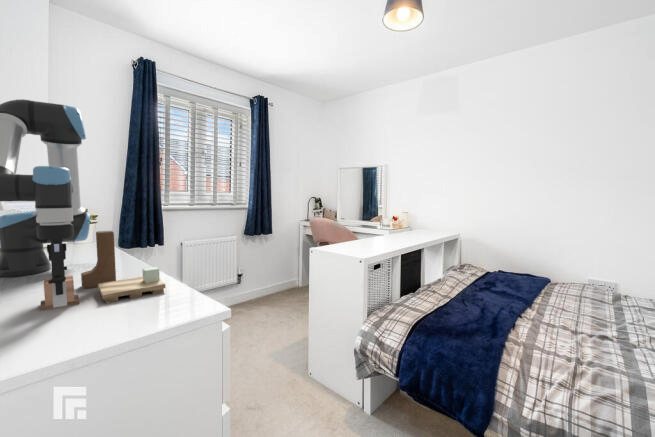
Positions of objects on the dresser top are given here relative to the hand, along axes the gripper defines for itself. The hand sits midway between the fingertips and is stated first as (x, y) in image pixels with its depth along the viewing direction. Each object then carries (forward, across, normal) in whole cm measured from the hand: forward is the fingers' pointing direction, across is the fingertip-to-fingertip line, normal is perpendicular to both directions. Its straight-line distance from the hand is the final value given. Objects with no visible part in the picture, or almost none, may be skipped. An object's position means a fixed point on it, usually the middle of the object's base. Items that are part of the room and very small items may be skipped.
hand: (60, 299), depth 84 cm
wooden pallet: (+1, 0, +17) cm, 17 cm away
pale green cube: (-1, 0, +22) cm, 23 cm away
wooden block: (+2, -15, +10) cm, 18 cm away
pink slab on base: (+2, 0, 0) cm, 2 cm away
